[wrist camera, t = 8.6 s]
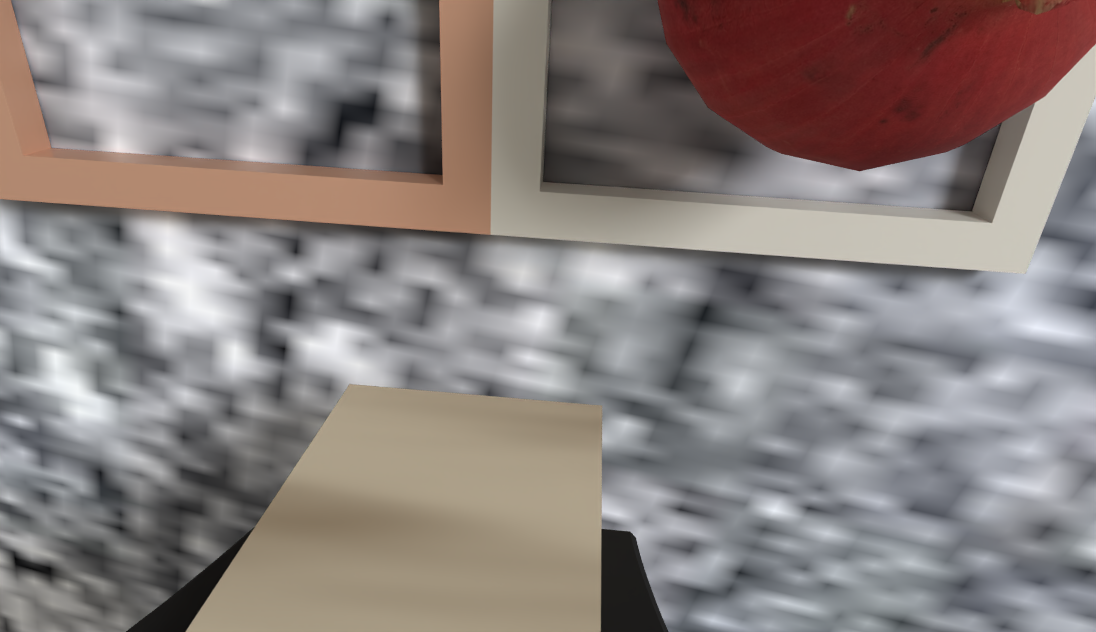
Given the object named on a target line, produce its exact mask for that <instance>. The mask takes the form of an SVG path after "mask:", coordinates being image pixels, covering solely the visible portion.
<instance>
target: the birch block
mask: <svg viewBox="0 0 1096 632" xmlns="http://www.w3.org/2000/svg"><path fill="white" fill-rule="evenodd" d="M601 506H602V406H599V405H587V404H575V403H564V402H552V401H540V400H528V399H517V398H505V397H493V396H482V395H470V394H458V393H446V392H435V391H423V390H411V389H399V388H388V387H376V386H364V385H353V384H349V386H348V387H347V389H346V391H345V392H344V394H343V395H342V397H341V398H340V400H339V401H338V403H337V404H336V406H335V407H334V409H333V410H332V412H331V413H330V415H329V416H328V418H327V419H326V421H325V422H324V424H323V425H322V427H321V428H320V430H319V431H318V433H317V434H316V436H315V437H314V439H313V440H312V442H311V443H310V445H309V446H308V448H307V449H306V451H305V452H304V454H303V455H302V457H301V458H300V460H299V461H298V463H297V464H296V466H295V467H294V469H293V470H292V472H291V473H290V475H289V476H288V478H287V479H286V481H285V482H284V484H283V486H282V487H281V489H280V490H279V492H278V493H277V495H276V496H275V498H274V499H273V501H272V502H271V504H270V505H269V507H268V508H267V510H266V511H265V513H264V514H263V516H262V517H261V519H260V520H259V522H258V523H257V525H256V526H255V528H254V529H253V531H252V532H251V534H250V535H249V537H248V538H247V540H246V541H245V543H244V544H243V546H242V547H241V549H240V550H239V552H238V553H237V555H236V556H235V558H234V559H233V561H232V562H231V564H230V565H229V567H228V568H227V570H226V571H225V573H224V574H223V576H222V578H221V579H220V581H219V582H218V584H217V585H216V587H215V588H214V590H213V591H212V593H211V594H210V596H209V597H208V599H207V600H206V602H205V603H204V605H203V606H202V608H201V609H200V611H199V612H198V614H197V615H196V617H195V618H194V620H193V621H192V623H191V624H190V626H189V627H188V629H187V630H186V632H601Z"/></svg>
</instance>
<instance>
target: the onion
mask: <svg viewBox="0 0 1096 632" xmlns="http://www.w3.org/2000/svg"><path fill="white" fill-rule="evenodd" d="M658 5H659V10H660V15H661V20H662V25H663V29H664V34H665V39H666V44H667V45H668V47H669V48H670V50H671V51H672V53H673V54H674V56H675V57H676V59H677V61H678V62H679V64H680V65H681V67H682V68H683V70H684V71H685V73H686V74H687V76H688V78H689V79H690V81H691V82H692V84H693V85H694V87H695V88H696V90H697V91H698V93H699V95H700V96H701V98H702V99H703V101H704V102H705V104H706V105H707V107H708V108H709V109H711V110H712V111H714V112H715V113H716V114H718V115H719V116H721V117H722V118H724V119H725V120H727V121H728V122H730V123H731V124H733V125H734V126H736V127H737V128H739V129H741V130H742V131H744V132H745V133H747V134H748V135H750V136H751V137H753V138H754V139H756V140H757V141H759V142H760V143H762V144H763V145H765V146H766V147H768V148H770V149H772V150H774V151H777V152H779V153H781V154H785V155H790V156H794V157H799V158H803V159H808V160H812V161H816V162H821V163H825V164H830V165H834V166H839V167H843V168H847V169H852V170H856V171H863V170H867V169H872V168H876V167H881V166H885V165H890V164H895V163H899V162H904V161H908V160H913V159H917V158H922V157H926V156H931V155H935V154H940V153H945V152H948V151H950V150H952V149H955V148H957V147H960V146H962V145H965V144H966V143H968V142H970V141H971V140H973V139H975V138H976V137H978V136H980V135H981V134H983V133H985V132H987V131H988V130H990V129H992V128H993V127H995V126H997V125H998V124H1000V123H1002V122H1003V121H1005V120H1007V119H1008V118H1010V117H1012V116H1013V115H1015V114H1017V113H1018V112H1020V111H1022V110H1023V109H1025V108H1027V107H1028V106H1030V105H1032V104H1034V103H1035V102H1037V101H1039V100H1040V99H1042V98H1044V97H1045V96H1046V95H1047V94H1048V93H1049V92H1050V91H1051V90H1052V89H1053V88H1054V87H1055V85H1056V84H1057V83H1058V82H1059V81H1060V80H1061V79H1062V78H1063V77H1064V76H1065V75H1066V74H1067V73H1068V72H1069V71H1070V70H1071V69H1072V68H1073V67H1074V66H1075V65H1076V64H1077V63H1078V62H1079V61H1080V60H1081V59H1082V58H1083V57H1084V56H1085V55H1086V54H1087V53H1088V52H1089V50H1090V49H1091V48H1092V47H1093V46H1094V45H1095V44H1096V0H658Z"/></svg>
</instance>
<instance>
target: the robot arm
mask: <svg viewBox="0 0 1096 632" xmlns="http://www.w3.org/2000/svg"><path fill="white" fill-rule="evenodd" d="M254 528H255V527H254ZM254 528H253V529H254ZM253 529H252V530H251V531H249V532H248V533H247V534H246V535H245V536H244V537H242V538H241V539H240V540H239V541H238V542H237V543H235V544H234V545H233V546H232V547H231V548H230V549H228V550H227V551H226V552H225V553H224V554H222V555H221V556H220V557H219V558H218V559H217V560H215V561H214V562H213V563H212V564H211V565H209V566H208V567H207V568H206V569H205V570H203V571H202V572H201V573H200V574H198V575H197V576H196V577H195V578H194V579H192V580H191V581H190V582H189V583H188V584H186V585H185V586H184V587H183V588H181V589H180V590H179V591H178V592H177V593H175V594H174V595H173V596H172V597H170V598H169V599H168V600H167V601H165V602H164V603H163V604H162V605H160V606H159V607H158V608H156V609H155V610H154V611H152V612H151V613H150V614H148V615H147V616H146V617H145V618H143V619H142V620H141V621H139V622H138V623H137V624H135V625H134V626H133V627H131V628H130V629H129V630H128V631H126V632H186V630H187V629H188V627H189V626H190V624H191V623H192V621H193V620H194V618H195V617H196V615H197V614H198V612H199V611H200V609H201V608H202V606H203V605H204V603H205V602H206V600H207V599H208V597H209V596H210V594H211V593H212V591H213V590H214V588H215V587H216V585H217V584H218V582H219V581H220V579H221V578H222V576H223V574H224V573H225V571H226V570H227V568H228V567H229V565H230V564H231V562H232V561H233V559H234V558H235V556H236V555H237V553H238V552H239V550H240V549H241V547H242V546H243V544H244V543H245V541H246V540H247V538H248V537H249V535H250V534H251V532H252V531H253ZM601 632H668V630H667V627H666V625H665V623H664V621H663V618H662V616H661V613H660V611H659V608H658V606H657V603H656V600H655V598H654V595H653V592H652V590H651V587H650V584H649V581H648V578H647V576H646V573H645V570H644V566H643V563H642V560H641V556H640V553H639V549H638V545H637V540H636V537H635V536H634V535H633V534H632V533H631V532H628V531H617V530H607V529H601Z"/></svg>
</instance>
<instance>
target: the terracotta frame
mask: <svg viewBox="0 0 1096 632" xmlns="http://www.w3.org/2000/svg"><path fill="white" fill-rule="evenodd" d="M493 2H494V0H439V12H440V63H441V114H442V166H443V175H436V174H421V173H407V172H392V171H378V170H363V169H349V168H334V167H320V166H305V165H291V164H276V163H262V162H247V161H233V160H218V159H204V158H189V157H175V156H160V155H145V154H131V153H116V152H102V151H87V150H73V149H58V148H51V145H50V141H49V138H48V134H47V130H46V127H45V123H44V119H43V116H42V112H41V109H40V105H39V101H38V98H37V94H36V90H35V87H34V83H33V79H32V76H31V72H30V69H29V65H28V61H27V58H26V54H25V50H24V47H23V43H22V39H21V36H20V32H19V29H18V25H17V21H16V18H15V14H14V10H13V7H12V3H11V0H0V199H7V200H20V201H34V202H48V203H62V204H75V205H89V206H103V207H117V208H130V209H144V210H158V211H171V212H185V213H199V214H213V215H226V216H240V217H254V218H267V219H281V220H295V221H309V222H322V223H336V224H350V225H364V226H377V227H391V228H405V229H418V230H432V231H446V232H460V233H473V234H487V235H491V158H492V80H493Z"/></svg>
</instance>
